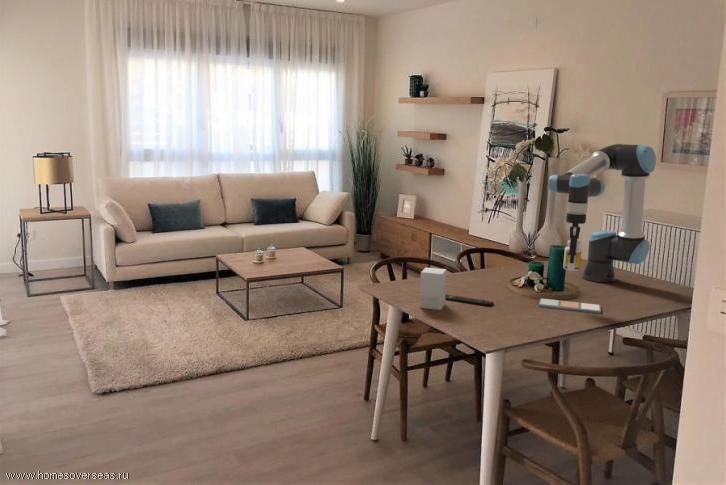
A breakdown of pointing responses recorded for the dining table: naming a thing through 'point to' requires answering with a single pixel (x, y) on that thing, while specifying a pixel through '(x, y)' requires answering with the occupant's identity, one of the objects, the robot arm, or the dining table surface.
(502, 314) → the dining table surface
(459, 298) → the remote control
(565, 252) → the pill bottle
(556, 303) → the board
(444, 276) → the supplement box
